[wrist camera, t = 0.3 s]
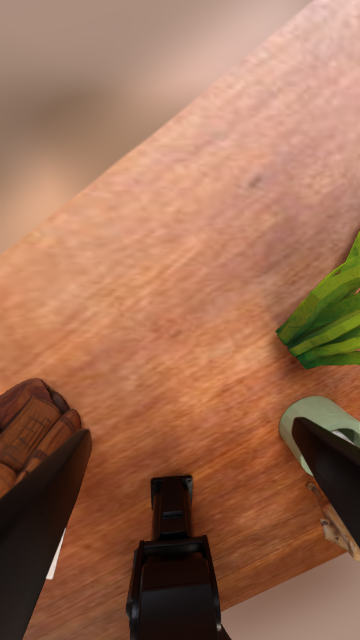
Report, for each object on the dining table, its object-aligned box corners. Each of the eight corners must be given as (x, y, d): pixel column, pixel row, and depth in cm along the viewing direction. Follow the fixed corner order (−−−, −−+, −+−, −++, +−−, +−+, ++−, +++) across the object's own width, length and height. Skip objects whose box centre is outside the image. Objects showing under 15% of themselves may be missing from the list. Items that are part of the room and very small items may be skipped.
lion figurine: (287, 479, 30) (337, 563, 21) (313, 460, 29) (375, 540, 20) (329, 516, 33) (387, 602, 24) (353, 500, 32) (421, 583, 24)
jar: (330, 444, 28) (359, 475, 24) (274, 448, 28) (294, 480, 23) (344, 394, 26) (380, 418, 22) (284, 397, 25) (308, 422, 21)
